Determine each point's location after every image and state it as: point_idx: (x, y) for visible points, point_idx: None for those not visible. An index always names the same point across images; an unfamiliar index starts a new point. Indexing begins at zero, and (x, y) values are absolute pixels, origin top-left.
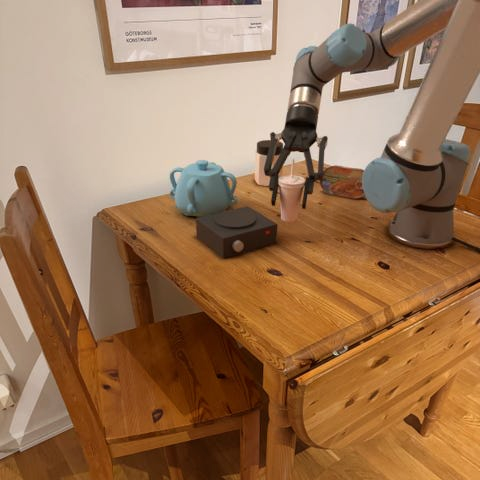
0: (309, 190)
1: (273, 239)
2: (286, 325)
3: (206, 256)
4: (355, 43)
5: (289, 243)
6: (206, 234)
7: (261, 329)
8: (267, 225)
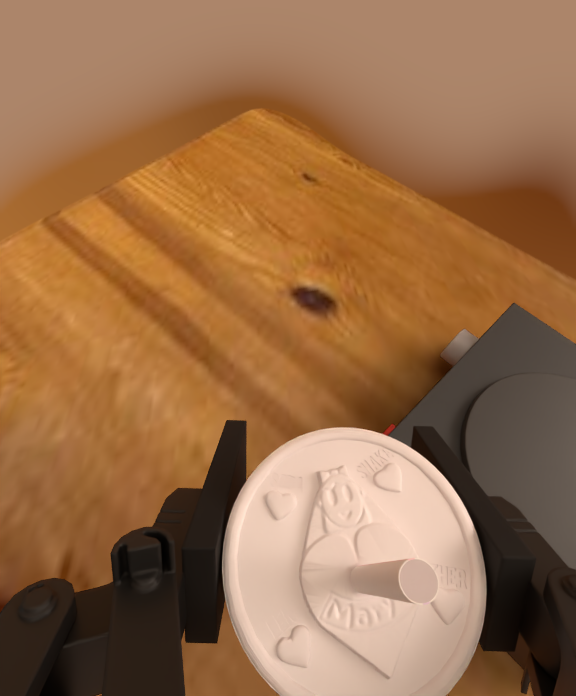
0: (193, 493)
1: None
2: (262, 153)
3: None
4: None
5: None
6: None
7: (304, 141)
8: (399, 439)
